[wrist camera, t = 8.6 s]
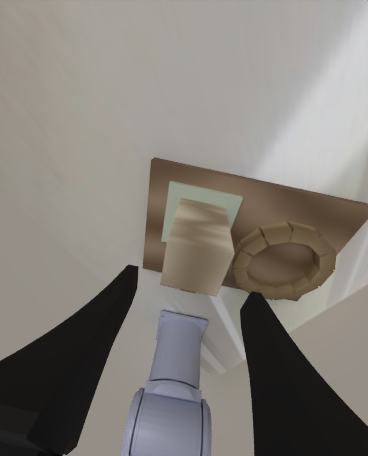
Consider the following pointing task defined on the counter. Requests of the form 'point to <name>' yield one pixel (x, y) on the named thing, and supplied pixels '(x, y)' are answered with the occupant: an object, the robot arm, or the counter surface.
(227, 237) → the peg
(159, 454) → the robot arm
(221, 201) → the sage pad
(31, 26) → the counter surface
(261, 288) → the base board
